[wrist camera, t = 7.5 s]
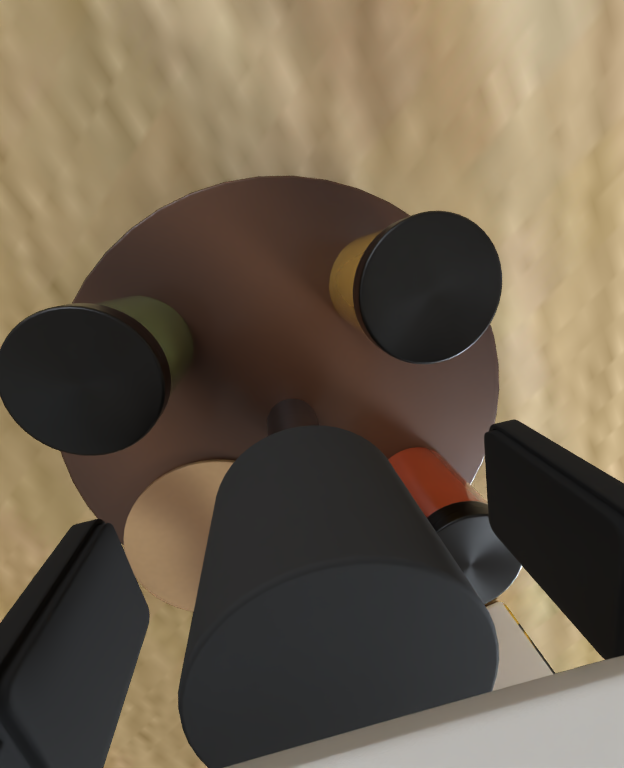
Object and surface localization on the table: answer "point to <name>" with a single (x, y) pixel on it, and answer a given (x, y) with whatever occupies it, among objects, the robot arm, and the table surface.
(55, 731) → the robot arm
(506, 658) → the medicine bottle
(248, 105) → the table surface
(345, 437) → the spice rack
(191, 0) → the table surface
